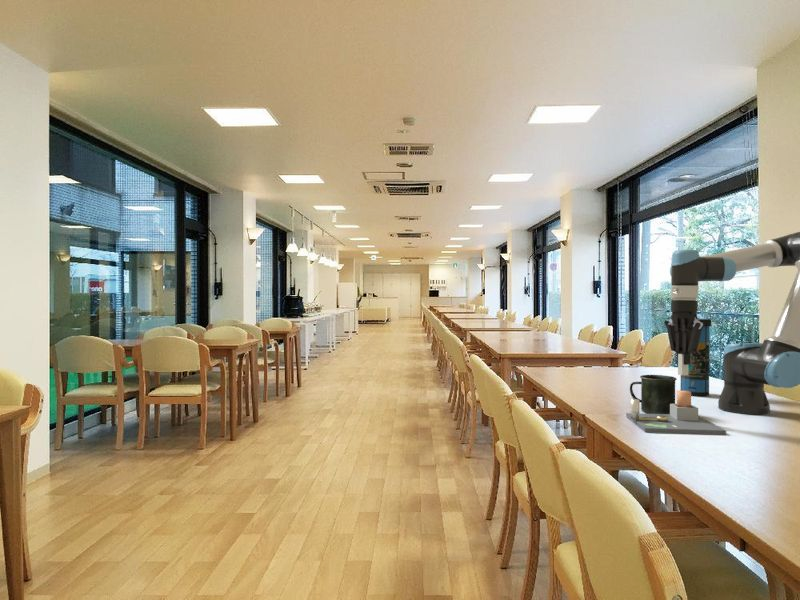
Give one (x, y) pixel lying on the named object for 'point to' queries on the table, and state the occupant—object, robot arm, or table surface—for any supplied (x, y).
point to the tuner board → (678, 422)
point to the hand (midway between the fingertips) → (683, 374)
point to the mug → (656, 393)
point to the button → (684, 399)
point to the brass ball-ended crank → (636, 412)
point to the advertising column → (699, 366)
